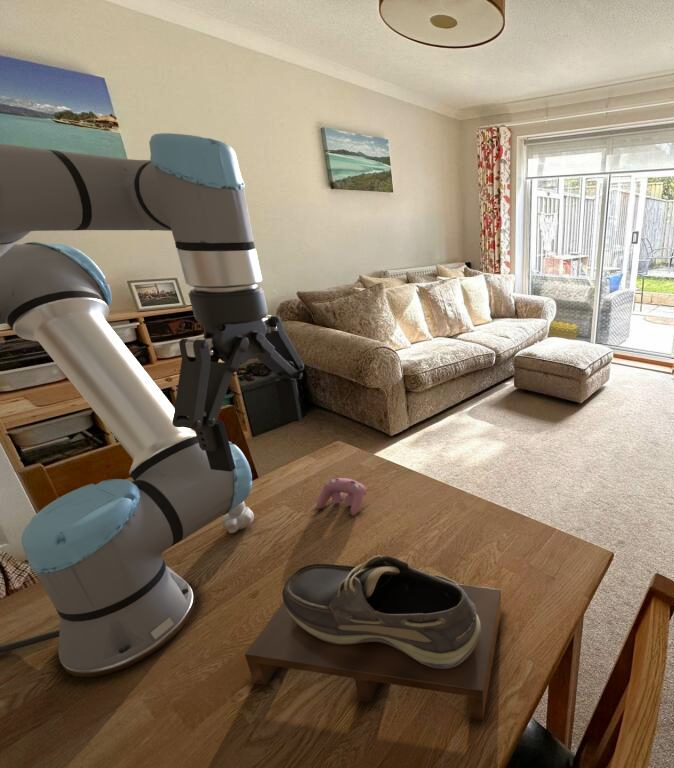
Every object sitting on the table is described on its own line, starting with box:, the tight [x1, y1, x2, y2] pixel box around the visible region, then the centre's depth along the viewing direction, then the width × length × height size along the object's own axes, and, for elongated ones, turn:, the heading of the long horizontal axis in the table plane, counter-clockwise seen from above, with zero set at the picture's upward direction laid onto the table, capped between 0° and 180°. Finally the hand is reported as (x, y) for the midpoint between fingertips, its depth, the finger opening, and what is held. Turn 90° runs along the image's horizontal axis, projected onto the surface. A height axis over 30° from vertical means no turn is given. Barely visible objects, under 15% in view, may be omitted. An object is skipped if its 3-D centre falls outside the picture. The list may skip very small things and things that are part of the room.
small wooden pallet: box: [244, 583, 502, 721], centre depth 59 cm, size 32×15×6 cm, turn 83°
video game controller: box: [316, 477, 367, 516], centre depth 89 cm, size 10×5×7 cm, turn 77°
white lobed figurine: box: [221, 500, 255, 534], centre depth 81 cm, size 5×7×8 cm
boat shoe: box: [282, 555, 481, 669], centre depth 56 cm, size 11×29×11 cm, turn 79°
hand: (261, 441), depth 56 cm, fingers open, 13 cm apart
